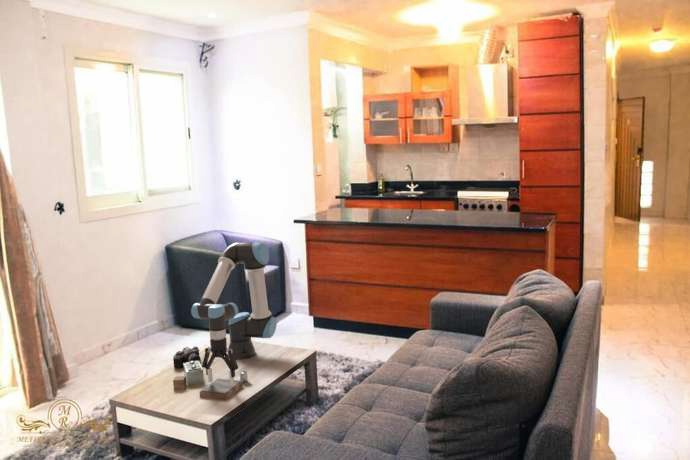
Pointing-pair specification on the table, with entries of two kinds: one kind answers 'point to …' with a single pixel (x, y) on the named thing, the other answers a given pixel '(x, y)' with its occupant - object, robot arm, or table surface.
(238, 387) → the grey brown flat block
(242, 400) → the table surface
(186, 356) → the camera
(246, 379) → the steel cup
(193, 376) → the housing
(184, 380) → the walnut block
